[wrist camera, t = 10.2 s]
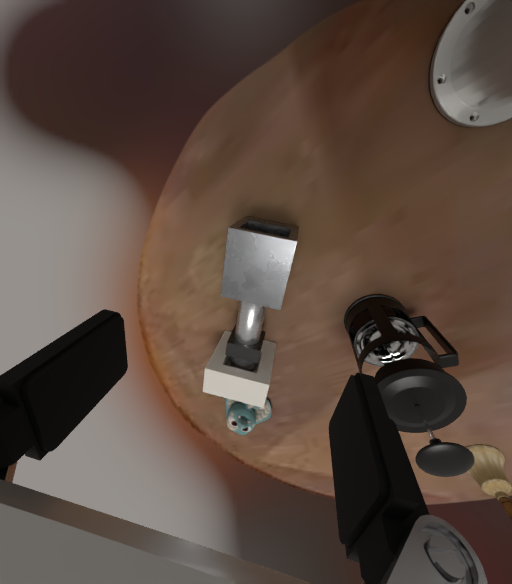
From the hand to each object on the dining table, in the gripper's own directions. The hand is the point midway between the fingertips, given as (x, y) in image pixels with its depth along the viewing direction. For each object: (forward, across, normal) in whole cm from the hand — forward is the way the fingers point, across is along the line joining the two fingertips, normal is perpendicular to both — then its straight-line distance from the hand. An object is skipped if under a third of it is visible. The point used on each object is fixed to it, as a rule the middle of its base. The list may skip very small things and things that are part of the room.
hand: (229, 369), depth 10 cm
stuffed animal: (+31, 0, +37) cm, 48 cm away
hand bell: (+31, -47, +36) cm, 67 cm away
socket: (+30, +2, +23) cm, 38 cm away
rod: (+27, +2, +14) cm, 31 cm away
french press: (+31, -18, +11) cm, 37 cm away
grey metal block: (+30, +2, +4) cm, 31 cm away
